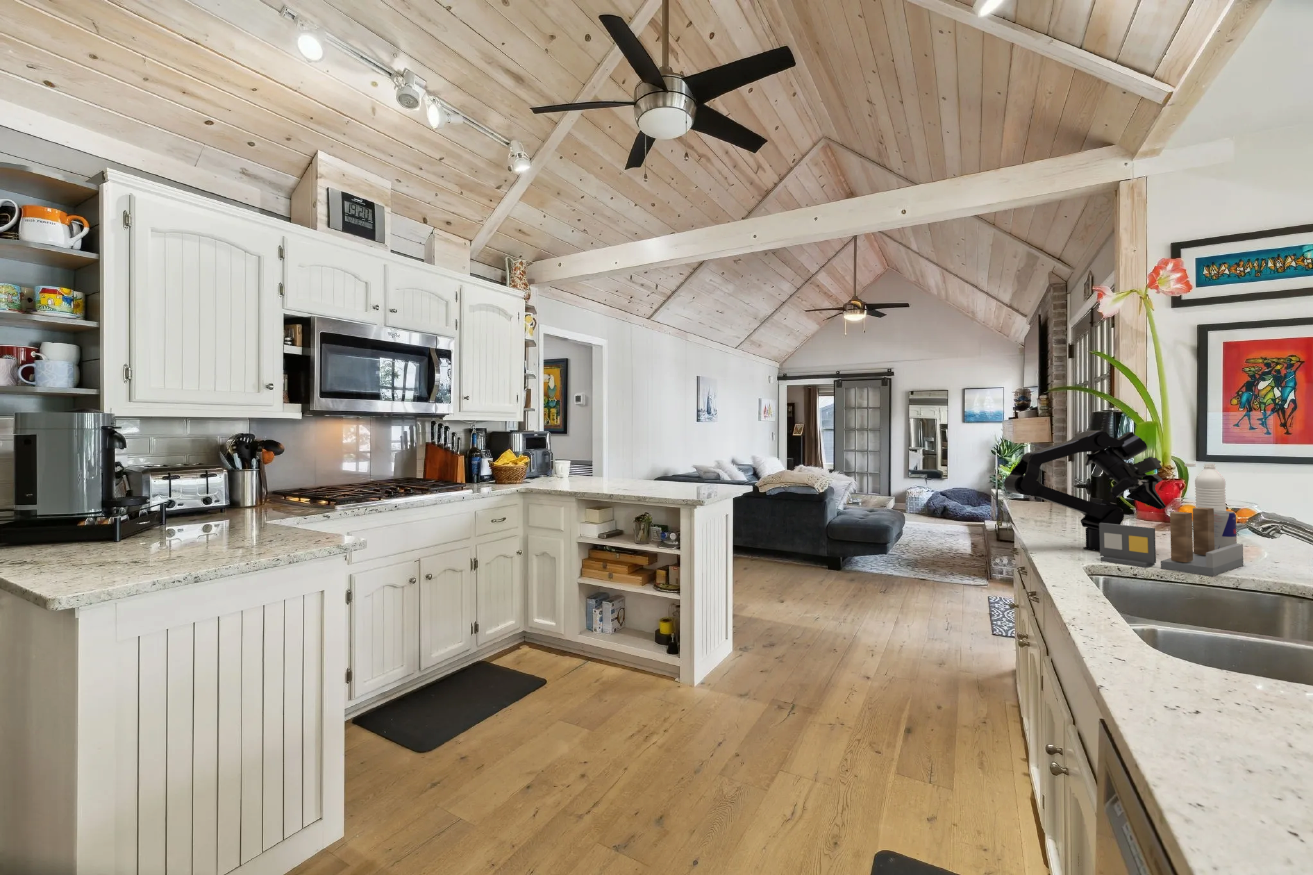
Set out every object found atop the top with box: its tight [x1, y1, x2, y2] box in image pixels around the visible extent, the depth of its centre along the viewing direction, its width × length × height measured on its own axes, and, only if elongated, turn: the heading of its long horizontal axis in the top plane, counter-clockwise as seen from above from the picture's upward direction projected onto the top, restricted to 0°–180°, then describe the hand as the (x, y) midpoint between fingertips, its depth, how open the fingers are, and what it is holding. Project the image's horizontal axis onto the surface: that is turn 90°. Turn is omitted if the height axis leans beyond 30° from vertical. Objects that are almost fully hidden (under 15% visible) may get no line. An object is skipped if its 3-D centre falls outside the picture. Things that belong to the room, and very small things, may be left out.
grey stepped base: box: [1160, 543, 1244, 577], centre depth 148 cm, size 10×20×6 cm, turn 120°
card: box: [1099, 523, 1157, 569], centre depth 154 cm, size 12×5×10 cm, turn 30°
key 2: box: [1192, 507, 1215, 555], centre depth 153 cm, size 3×4×12 cm
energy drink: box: [1214, 510, 1238, 550], centre depth 161 cm, size 5×5×12 cm
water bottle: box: [1184, 462, 1227, 511], centre depth 170 cm, size 9×6×25 cm
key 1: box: [1169, 511, 1194, 563], centre depth 146 cm, size 3×4×12 cm
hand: (1163, 508), depth 160 cm, fingers closed
